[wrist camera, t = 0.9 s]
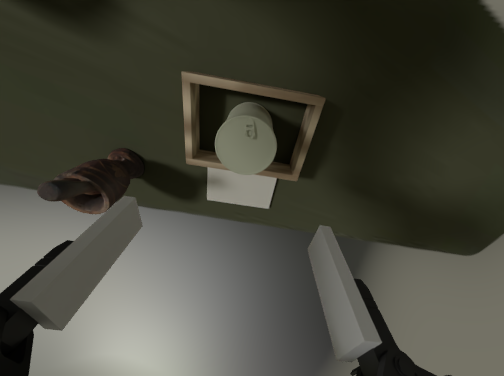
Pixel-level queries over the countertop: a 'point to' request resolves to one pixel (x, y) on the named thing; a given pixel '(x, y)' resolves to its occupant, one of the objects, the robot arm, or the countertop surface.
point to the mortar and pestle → (94, 182)
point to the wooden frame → (194, 79)
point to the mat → (239, 188)
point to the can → (246, 140)
